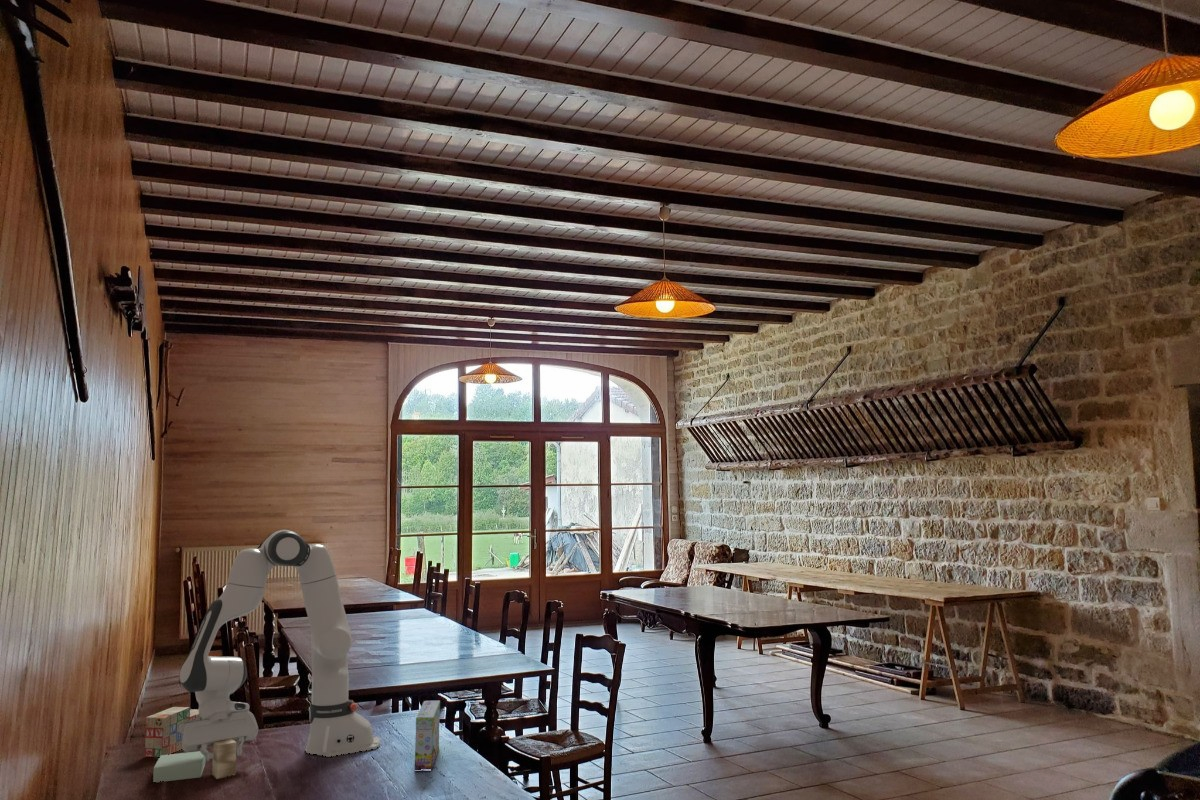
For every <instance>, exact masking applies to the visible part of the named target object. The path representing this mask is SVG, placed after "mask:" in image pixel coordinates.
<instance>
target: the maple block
mask: <svg viewBox="0 0 1200 800" xmlns="http://www.w3.org/2000/svg"><path fill="white" fill-rule="evenodd" d="M236 747H237V743H236V741H234V740H233V739H227V740H222V741H217V742H213V747H212V752H213V761H211V762H212V767H211V775H212V776H213V777H214V778H215V779H216V780H218V779H223V778H227V776H228V777H231V775H233V776H235V775H236V774H237V773H236V772H237V771H236V770H237V767H236V766H237V756H236Z"/></svg>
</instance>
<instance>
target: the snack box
mask: <svg viewBox="0 0 1200 800" xmlns="http://www.w3.org/2000/svg"><path fill="white" fill-rule="evenodd" d="M440 709H441V700H439V699H438V700H423V702H422V705H421V706H420V709H419V711H418V713H417V715H416V717H415V743H414V747H415V748H414V749H415V750H414V770H421V769H432V767H433V768H434V766H433V765H435V763H434V762H436V760H435V759H437V757H436V756H438V754H437V753H439V751H440V718H441V717H440V715H441V714H440V713H441V712H440V711H441V710H440ZM438 750H439V751H438ZM432 770H433V769H432Z"/></svg>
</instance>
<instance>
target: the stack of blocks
mask: <svg viewBox="0 0 1200 800" xmlns="http://www.w3.org/2000/svg"><path fill="white" fill-rule="evenodd" d="M195 718H200V716H199V711H198V709H197V708H196V709H195V708H194V709H192V708H191V707H190V706H187V707H186V706H185V707H184V706H172V707H170V708H167V709H165V710H162V711H159V712H157V713H154V714H151V715H148V716H146V717H145V734H144V735H145V738H144V739H145V741H144V742H145V744H144V757H145V756H150V757H151V756H152V757H155V756H156V757H160V756H161V755H168V754H171V753H173V752H176V751H178V752H180V751H182V750H183V748H182V734H181V733H180V730H179V725H180V724H181V723H182V722H184V721H185V720H191V719H195ZM183 724H184V723H183ZM181 749H182V750H181ZM179 750H180V751H179ZM176 753H177V752H176Z"/></svg>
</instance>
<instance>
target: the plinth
mask: <svg viewBox="0 0 1200 800" xmlns="http://www.w3.org/2000/svg"><path fill="white" fill-rule="evenodd" d="M206 762H207V760H206V757H205V756H204V755H203V754H202V753H201V752H200V750H196V751H190V752H180V753H178V752H177V753H174V754H169V755H161V756H160V758H157V761H156V763H155V764H154V767H153V773H152V776H153V777H152V780H153V781H152V782H156V783H163V782H162V781H164V782H171V781H179V780H180V781H181V780H188V779H197V778H201V777H202V774H203V771H204V769H205V767H206ZM160 781H161V782H160Z"/></svg>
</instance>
